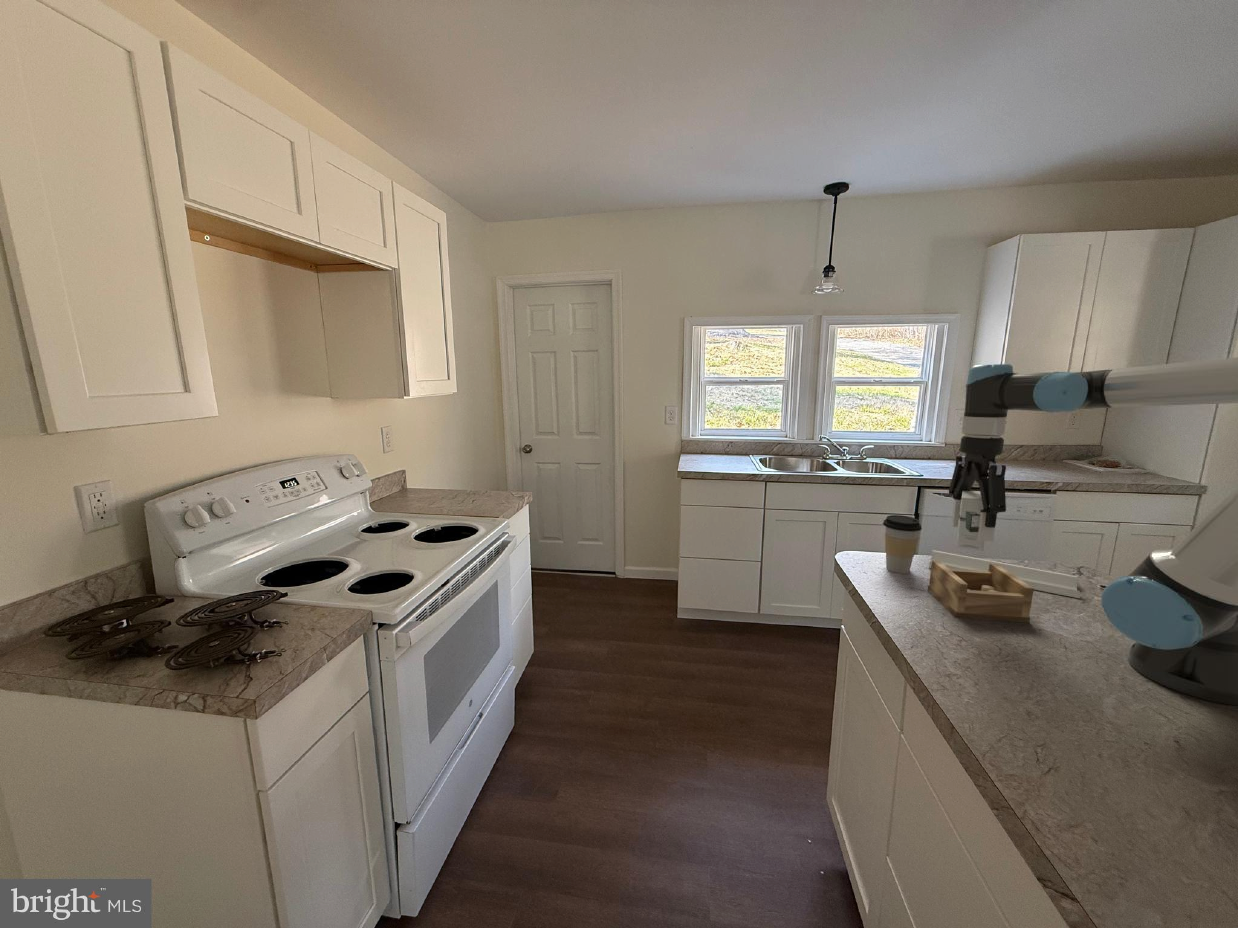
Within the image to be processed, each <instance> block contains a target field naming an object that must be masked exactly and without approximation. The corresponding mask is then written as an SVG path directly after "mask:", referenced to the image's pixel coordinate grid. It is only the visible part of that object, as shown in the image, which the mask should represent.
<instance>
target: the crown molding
mask: <svg viewBox="0 0 1238 928" xmlns="http://www.w3.org/2000/svg"><path fill="white" fill-rule="evenodd" d="M932 560H937V561H940V562H941V563H942V564H943V565H945V566H946V567H947V568H948V569H964V570H982V571H988V570H989V563H992V564H997V565H999V566H1000V567H1002V568H1003V569H1005V570H1007V571H1008V572H1010V573H1011V574H1013V575H1014V576H1016V577H1017V578H1019V579H1020V580H1022V581H1023V582H1025V583H1026V584H1028V585H1029V586H1031V587H1032V588H1034V590H1036V591H1040V592H1045V593H1050V594H1054V595H1060V596H1065V597H1069V598H1075V599H1079V600H1080V599H1081V591H1080V590H1078V576H1077V575H1072V574H1067V573H1062V572H1055V571H1050V570H1045V569H1039V568H1033V567H1028V566H1022V565H1018V564H1011V563H1005V562H1000V561H994V560H989V559H983V558H977V557H975V556H974V557H972V556H967V555H962V554H957V553H951V552H945V551H940V550H934V549H932V551H931V557H930V561H929V564H928V569H930V570H931V565H932Z"/></svg>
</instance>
